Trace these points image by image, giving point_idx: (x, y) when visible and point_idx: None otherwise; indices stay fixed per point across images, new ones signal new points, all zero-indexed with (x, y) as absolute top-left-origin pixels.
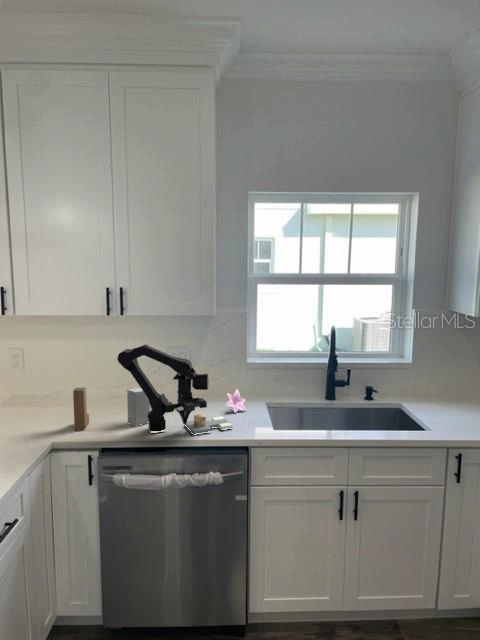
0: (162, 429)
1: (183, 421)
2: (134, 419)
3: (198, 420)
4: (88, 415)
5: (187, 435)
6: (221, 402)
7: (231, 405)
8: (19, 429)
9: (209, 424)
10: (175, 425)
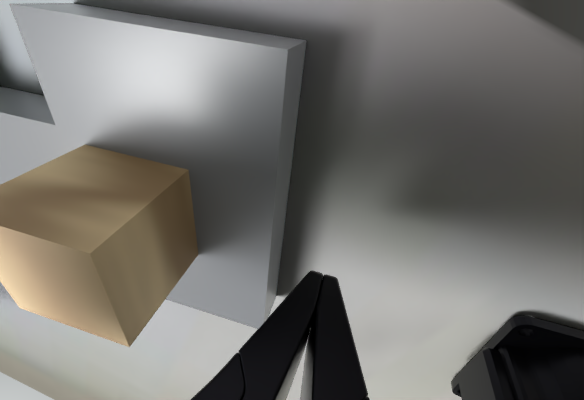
0: (532, 355)
1: (344, 318)
2: None
3: (107, 214)
4: None
5: (373, 100)
6: (30, 356)
7: None
8: None
9: (44, 148)
10: None
